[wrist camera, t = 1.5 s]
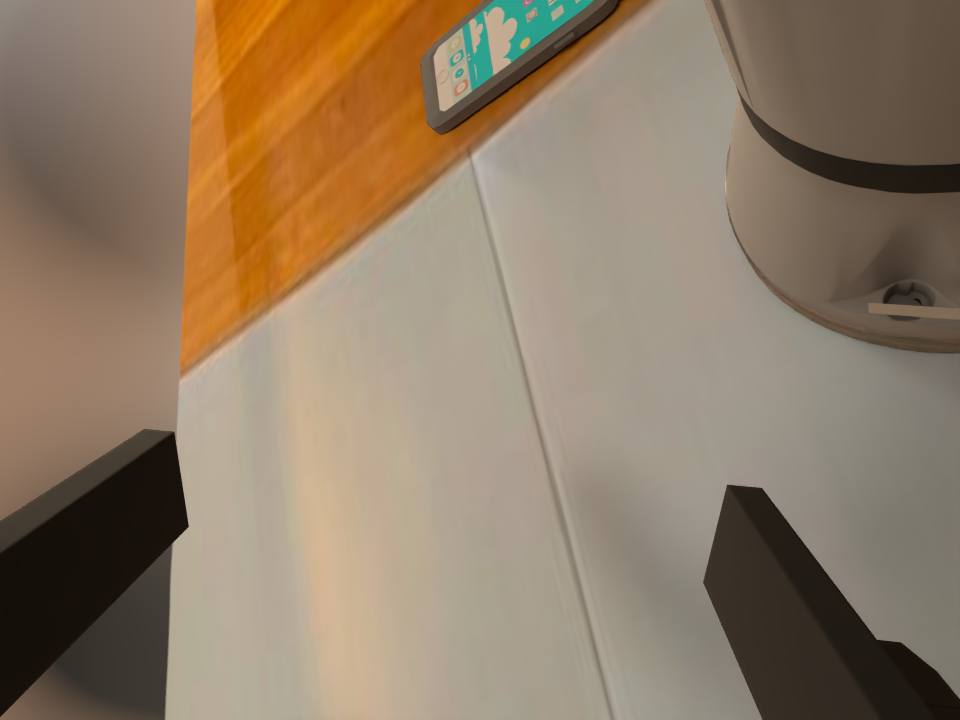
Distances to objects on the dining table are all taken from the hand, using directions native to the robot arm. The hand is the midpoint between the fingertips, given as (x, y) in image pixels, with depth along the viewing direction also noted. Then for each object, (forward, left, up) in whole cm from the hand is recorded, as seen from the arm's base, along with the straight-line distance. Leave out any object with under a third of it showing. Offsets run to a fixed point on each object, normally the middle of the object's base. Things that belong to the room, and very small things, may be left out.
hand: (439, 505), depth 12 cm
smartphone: (-6, -32, -14) cm, 35 cm away
